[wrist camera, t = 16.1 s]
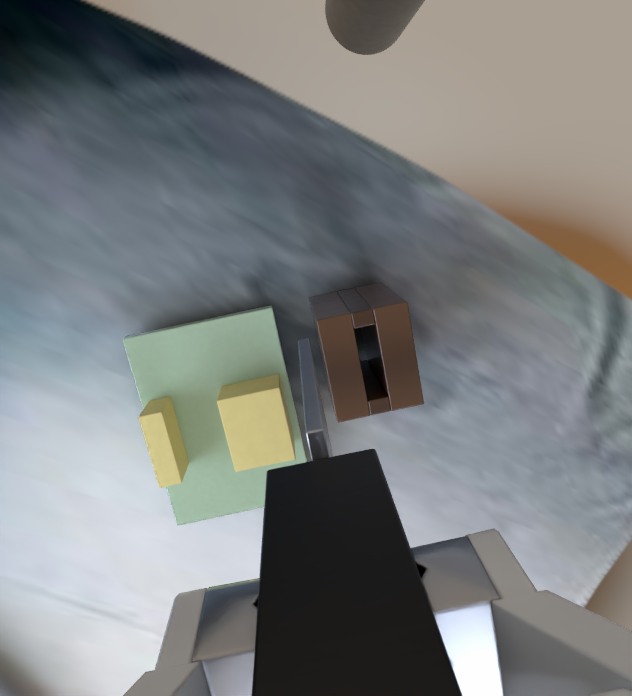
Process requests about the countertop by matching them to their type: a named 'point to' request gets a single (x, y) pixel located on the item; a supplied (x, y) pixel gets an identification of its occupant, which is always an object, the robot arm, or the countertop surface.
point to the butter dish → (211, 402)
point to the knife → (340, 579)
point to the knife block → (367, 351)
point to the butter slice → (164, 441)
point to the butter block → (256, 422)
